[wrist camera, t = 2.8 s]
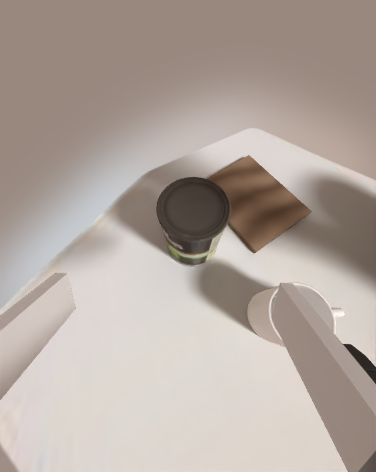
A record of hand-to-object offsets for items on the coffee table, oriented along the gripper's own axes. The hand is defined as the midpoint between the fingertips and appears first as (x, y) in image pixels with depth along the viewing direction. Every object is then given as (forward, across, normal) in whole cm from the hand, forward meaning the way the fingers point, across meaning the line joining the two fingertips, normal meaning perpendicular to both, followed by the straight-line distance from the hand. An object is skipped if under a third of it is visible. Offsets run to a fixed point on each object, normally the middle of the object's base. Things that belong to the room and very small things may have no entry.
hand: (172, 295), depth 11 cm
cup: (+16, +17, -17) cm, 29 cm away
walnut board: (+33, +14, 0) cm, 36 cm away
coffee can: (+26, +1, -8) cm, 27 cm away
